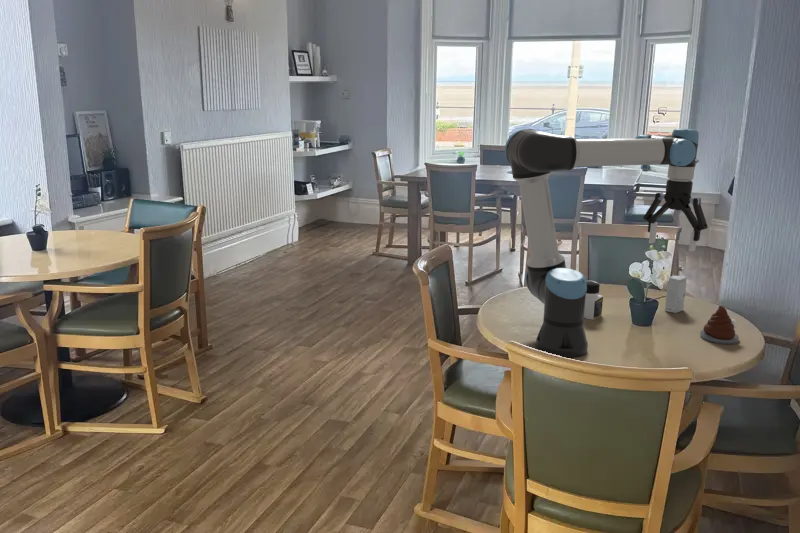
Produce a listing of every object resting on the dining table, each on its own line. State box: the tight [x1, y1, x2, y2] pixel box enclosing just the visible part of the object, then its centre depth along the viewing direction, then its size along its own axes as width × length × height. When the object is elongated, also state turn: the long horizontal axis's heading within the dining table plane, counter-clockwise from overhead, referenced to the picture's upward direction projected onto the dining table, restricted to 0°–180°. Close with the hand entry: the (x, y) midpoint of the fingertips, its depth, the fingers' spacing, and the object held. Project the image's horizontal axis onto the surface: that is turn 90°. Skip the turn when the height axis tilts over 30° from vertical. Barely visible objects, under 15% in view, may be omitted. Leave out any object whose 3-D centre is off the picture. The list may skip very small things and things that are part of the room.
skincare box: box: [664, 274, 687, 314], centre depth 245 cm, size 6×4×12 cm
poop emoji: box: [703, 305, 738, 340], centre depth 218 cm, size 10×8×9 cm
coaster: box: [699, 329, 739, 345], centre depth 219 cm, size 11×11×1 cm
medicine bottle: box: [584, 280, 604, 321], centre depth 238 cm, size 7×7×12 cm
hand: (671, 246), depth 221 cm, fingers open, 13 cm apart
